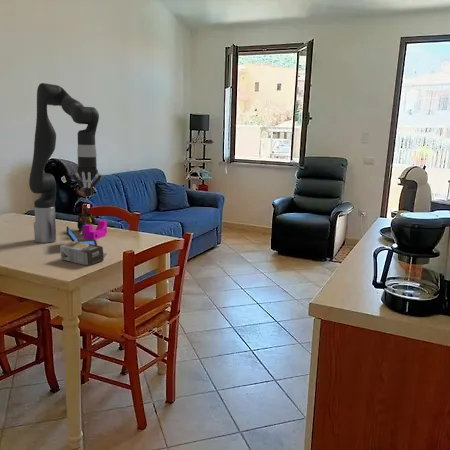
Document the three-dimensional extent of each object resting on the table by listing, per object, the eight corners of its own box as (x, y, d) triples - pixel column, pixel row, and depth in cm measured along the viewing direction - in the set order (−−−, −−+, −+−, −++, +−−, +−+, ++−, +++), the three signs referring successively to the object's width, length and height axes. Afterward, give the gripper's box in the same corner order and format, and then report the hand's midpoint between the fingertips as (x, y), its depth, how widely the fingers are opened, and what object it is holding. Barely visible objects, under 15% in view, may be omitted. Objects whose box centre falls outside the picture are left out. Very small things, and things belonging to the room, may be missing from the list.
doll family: (70, 230, 244) (69, 206, 241) (87, 228, 249) (86, 205, 246) (83, 239, 226) (82, 213, 223) (100, 237, 231) (100, 212, 228)
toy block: (93, 241, 223) (93, 226, 221) (83, 239, 225) (83, 225, 223) (111, 235, 237) (110, 221, 235) (101, 233, 239) (100, 220, 237)
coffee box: (75, 240, 194) (103, 246, 187) (76, 253, 196) (104, 260, 189) (59, 245, 186) (88, 252, 179) (60, 259, 188) (89, 266, 181)
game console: (97, 250, 207) (97, 231, 205) (67, 251, 202) (66, 232, 201) (96, 242, 221) (95, 224, 219) (67, 243, 217) (66, 225, 215)
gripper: (68, 155, 181) (69, 197, 185) (100, 156, 181) (101, 198, 185) (74, 154, 188) (75, 194, 192) (105, 155, 189) (105, 195, 192)
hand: (88, 196), depth 188 cm, fingers closed
